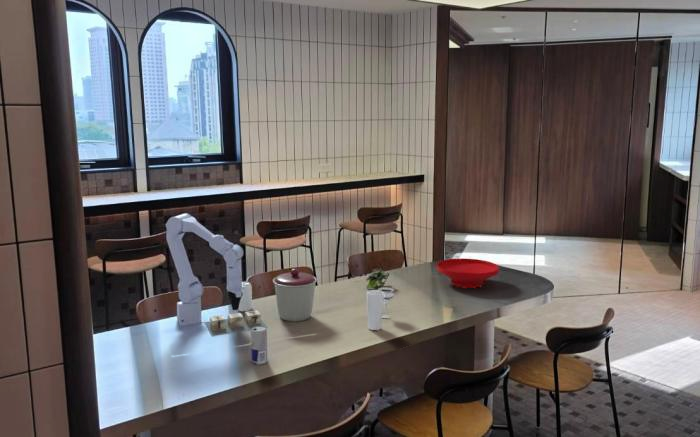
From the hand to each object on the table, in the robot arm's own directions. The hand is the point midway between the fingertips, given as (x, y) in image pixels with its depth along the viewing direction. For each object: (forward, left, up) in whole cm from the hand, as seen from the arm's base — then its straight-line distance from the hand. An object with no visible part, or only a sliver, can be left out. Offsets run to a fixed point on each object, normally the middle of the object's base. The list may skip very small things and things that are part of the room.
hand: (235, 309), depth 223 cm
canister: (+25, 0, -7) cm, 26 cm away
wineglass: (+60, -14, -7) cm, 62 cm away
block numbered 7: (+7, 0, -6) cm, 10 cm away
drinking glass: (+50, -24, -7) cm, 56 cm away
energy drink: (0, -36, -7) cm, 37 cm away
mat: (0, 0, -7) cm, 7 cm away
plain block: (0, 0, -6) cm, 6 cm away
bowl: (+120, +12, -7) cm, 121 cm away
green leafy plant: (+76, +24, -7) cm, 80 cm away
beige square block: (-7, 0, -6) cm, 10 cm away
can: (+8, +18, -7) cm, 21 cm away
